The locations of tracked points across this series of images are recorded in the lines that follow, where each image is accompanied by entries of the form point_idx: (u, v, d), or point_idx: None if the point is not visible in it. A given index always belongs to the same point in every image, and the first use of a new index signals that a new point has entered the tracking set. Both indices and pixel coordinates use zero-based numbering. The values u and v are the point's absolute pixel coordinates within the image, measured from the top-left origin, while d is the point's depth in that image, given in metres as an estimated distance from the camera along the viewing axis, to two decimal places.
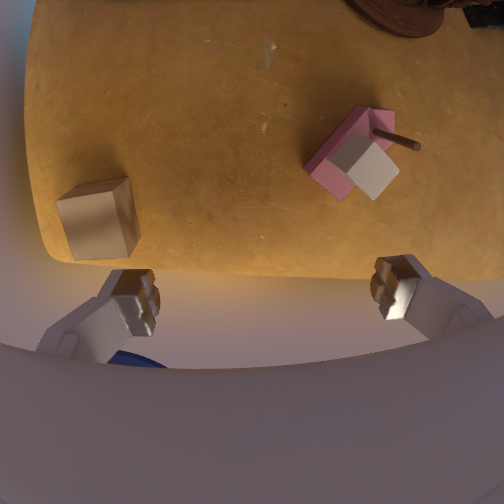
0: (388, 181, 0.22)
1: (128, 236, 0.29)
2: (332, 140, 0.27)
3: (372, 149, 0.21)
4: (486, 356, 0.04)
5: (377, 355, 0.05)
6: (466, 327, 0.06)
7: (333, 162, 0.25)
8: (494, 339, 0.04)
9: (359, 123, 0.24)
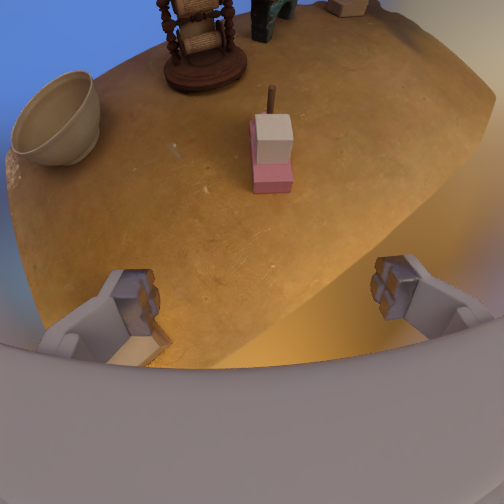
0: (289, 124, 0.29)
1: None
2: None
3: (258, 118, 0.29)
4: (486, 356, 0.04)
5: (377, 355, 0.05)
6: (466, 327, 0.06)
7: (256, 157, 0.31)
8: (494, 339, 0.04)
9: (253, 131, 0.34)
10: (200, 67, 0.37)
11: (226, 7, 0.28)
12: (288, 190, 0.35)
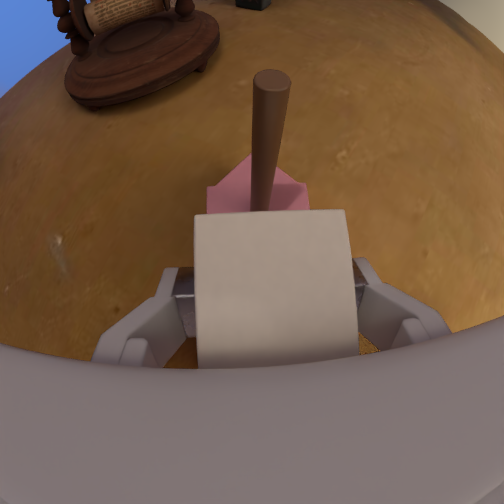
0: (344, 271, 0.07)
1: None
2: None
3: (208, 240, 0.07)
4: (486, 356, 0.04)
5: (377, 355, 0.05)
6: (411, 343, 0.05)
7: None
8: (494, 339, 0.04)
9: None
10: (121, 54, 0.16)
11: None
12: None
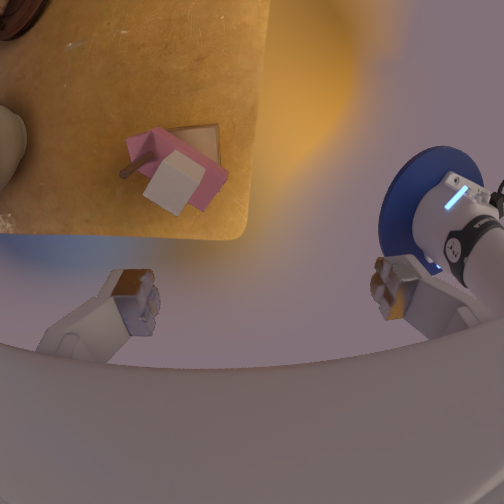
0: (176, 172, 0.23)
1: (199, 127, 0.30)
2: None
3: (150, 196, 0.24)
4: (486, 356, 0.04)
5: (377, 355, 0.05)
6: (466, 327, 0.06)
7: None
8: (494, 339, 0.04)
9: (146, 172, 0.28)
10: (21, 5, 0.14)
11: None
12: None
